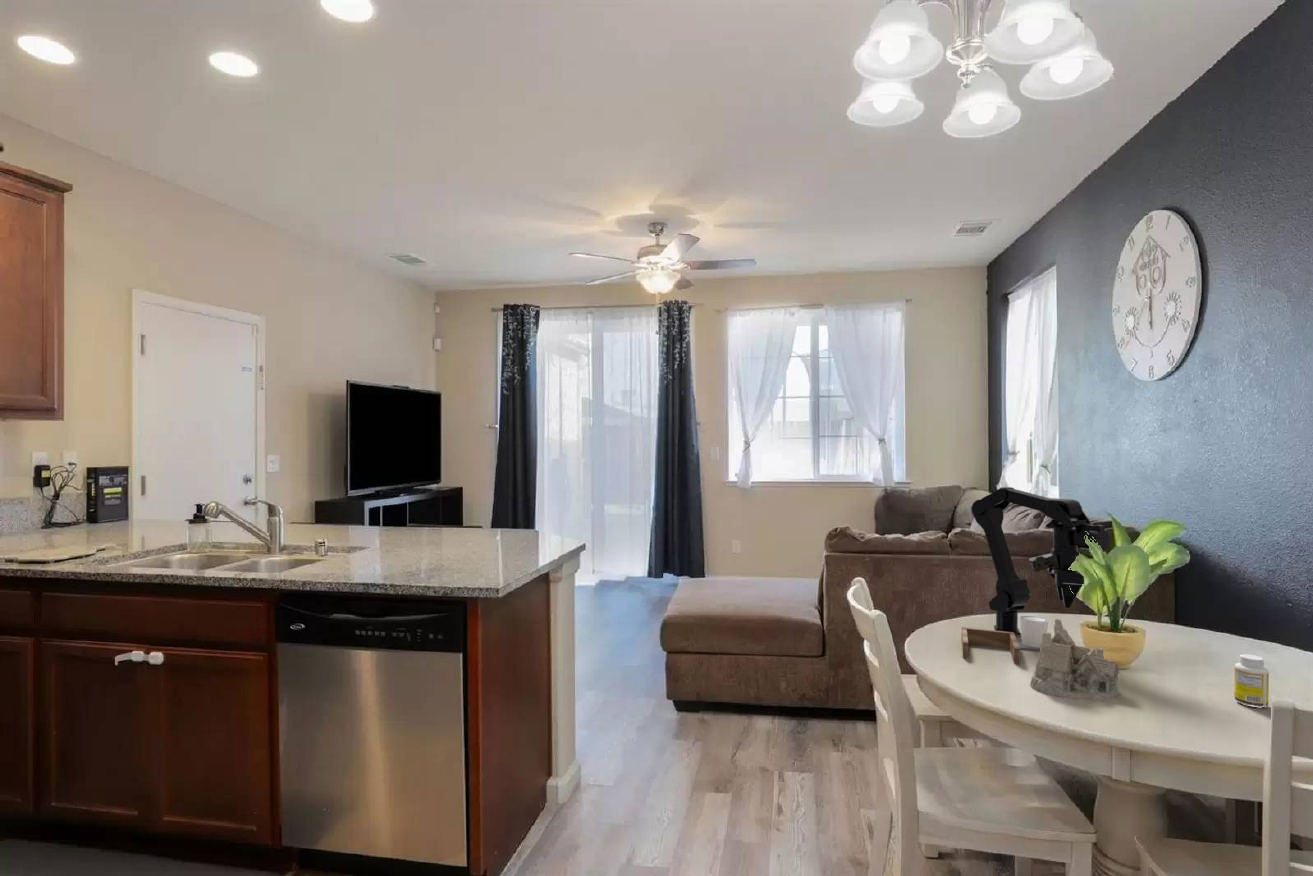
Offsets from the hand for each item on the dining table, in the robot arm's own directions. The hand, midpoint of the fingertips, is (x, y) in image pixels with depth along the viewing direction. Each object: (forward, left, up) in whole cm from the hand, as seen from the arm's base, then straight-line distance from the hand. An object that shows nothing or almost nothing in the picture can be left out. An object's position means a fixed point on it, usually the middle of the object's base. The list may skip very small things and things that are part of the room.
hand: (1064, 603), depth 188 cm
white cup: (+2, -7, -12) cm, 14 cm away
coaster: (+2, -7, -12) cm, 14 cm away
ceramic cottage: (+35, -3, -12) cm, 37 cm away
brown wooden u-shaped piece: (+13, -19, -12) cm, 26 cm away
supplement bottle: (+29, +31, -12) cm, 44 cm away
